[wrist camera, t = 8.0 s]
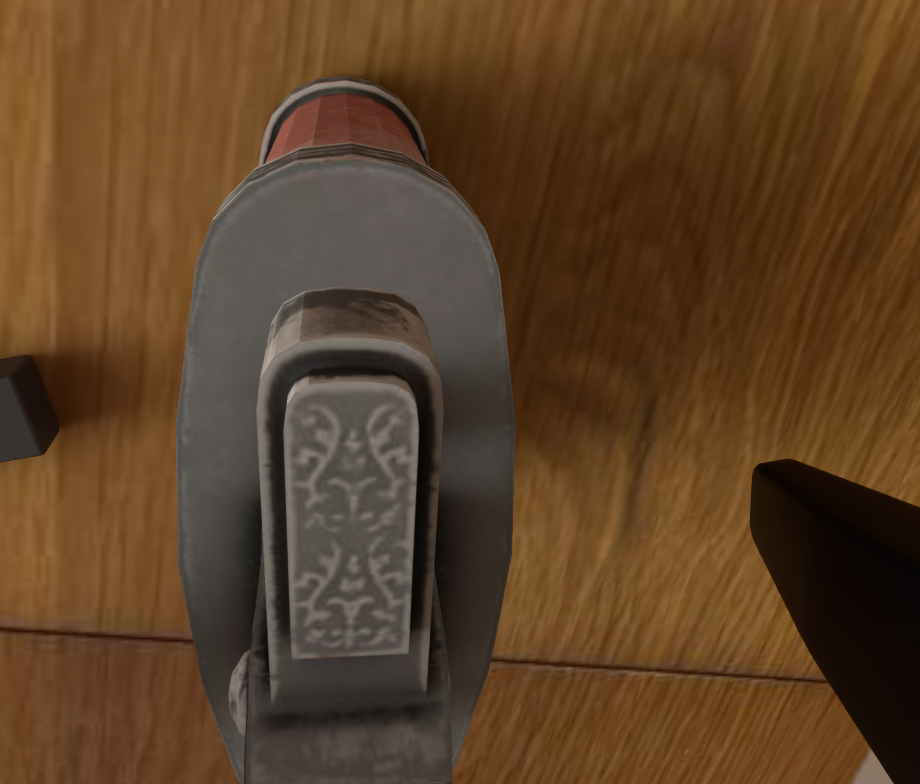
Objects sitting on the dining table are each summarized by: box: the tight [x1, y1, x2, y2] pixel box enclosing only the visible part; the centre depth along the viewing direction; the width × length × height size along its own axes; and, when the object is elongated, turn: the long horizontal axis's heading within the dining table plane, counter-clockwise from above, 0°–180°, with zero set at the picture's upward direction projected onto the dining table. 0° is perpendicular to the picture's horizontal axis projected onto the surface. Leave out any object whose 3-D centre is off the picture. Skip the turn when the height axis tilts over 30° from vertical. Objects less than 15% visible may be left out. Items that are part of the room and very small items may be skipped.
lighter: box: [176, 76, 515, 784], centre depth 10 cm, size 8×3×10 cm, turn 176°
